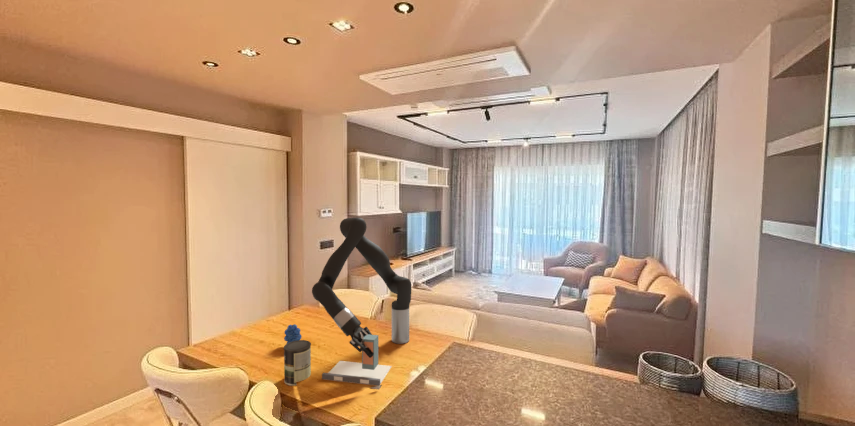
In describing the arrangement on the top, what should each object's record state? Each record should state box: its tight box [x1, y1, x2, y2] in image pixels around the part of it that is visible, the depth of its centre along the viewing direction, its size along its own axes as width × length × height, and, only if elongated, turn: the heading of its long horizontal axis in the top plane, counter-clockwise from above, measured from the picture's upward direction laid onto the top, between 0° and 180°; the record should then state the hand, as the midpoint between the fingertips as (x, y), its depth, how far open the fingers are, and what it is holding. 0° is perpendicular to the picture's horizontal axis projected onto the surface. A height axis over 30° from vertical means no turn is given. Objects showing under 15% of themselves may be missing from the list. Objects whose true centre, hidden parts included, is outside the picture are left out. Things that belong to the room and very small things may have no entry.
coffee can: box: [283, 339, 312, 387], centre depth 138 cm, size 10×10×14 cm
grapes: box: [283, 323, 302, 344], centre depth 169 cm, size 12×7×12 cm, turn 59°
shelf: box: [321, 360, 393, 390], centre depth 141 cm, size 16×24×4 cm
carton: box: [361, 334, 379, 370], centre depth 138 cm, size 5×5×12 cm
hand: (374, 353), depth 138 cm, fingers closed on carton, 5 cm apart
